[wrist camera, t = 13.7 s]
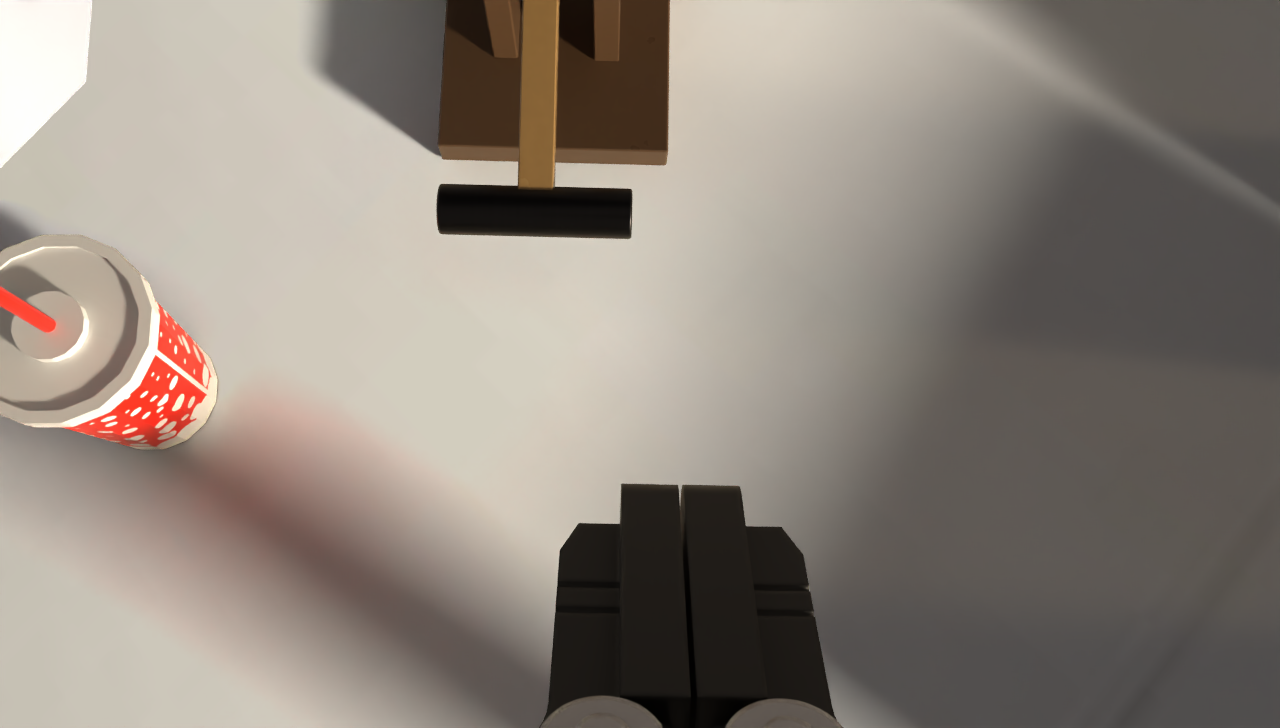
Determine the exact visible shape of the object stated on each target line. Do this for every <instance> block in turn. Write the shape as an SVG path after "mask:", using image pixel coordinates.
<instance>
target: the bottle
mask: <svg viewBox="0 0 1280 728" xmlns="http://www.w3.org/2000/svg"><path fill="white" fill-rule="evenodd" d="M91 10H92V0H0V168H1V167H2V166H3V165H4V164H5V163H6V162H7V161H8V160H9V159H10V158H11V157H12V156H13V155H14V154H15V153H16V152H17V151H18V150H19V149H20V148H21V147H22V146H23V145H24V144H25V143H26V142H27V141H28V140H29V139H30V138H31V137H32V136H33V135H34V134H35V133H36V132H37V131H38V130H39V129H40V128H41V127H42V126H43V125H44V124H45V123H46V122H47V121H48V120H49V119H50V118H51V117H52V116H53V115H54V114H55V113H56V112H57V111H58V110H59V109H60V108H61V107H62V106H63V104H64V103H65V102H66V101H67V100H68V99H69V98H70V97H71V96H72V95H73V94H74V93H75V92H76V91H77V90H78V89H79V88H80V87H81V86H82V85H83V84H84V83H85V82H86V73H87V60H88V48H89V35H90V23H91Z"/></svg>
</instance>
